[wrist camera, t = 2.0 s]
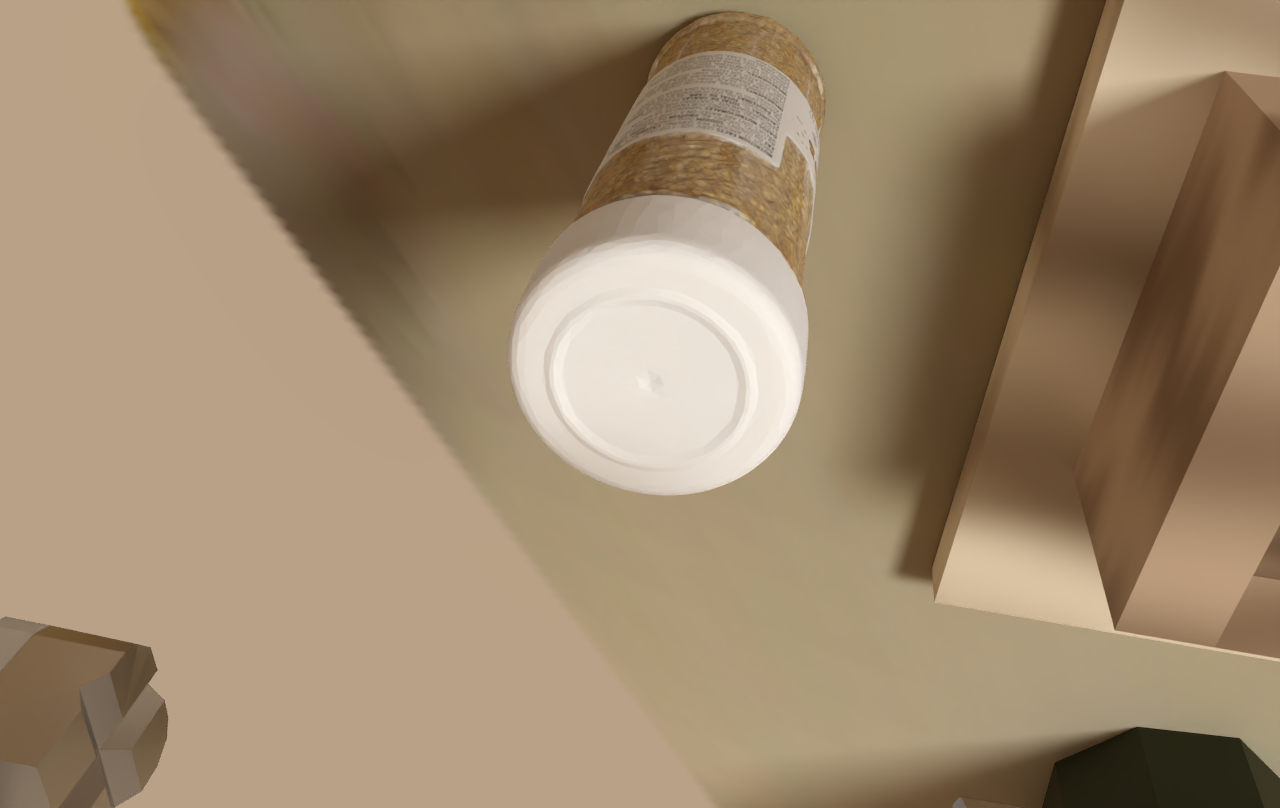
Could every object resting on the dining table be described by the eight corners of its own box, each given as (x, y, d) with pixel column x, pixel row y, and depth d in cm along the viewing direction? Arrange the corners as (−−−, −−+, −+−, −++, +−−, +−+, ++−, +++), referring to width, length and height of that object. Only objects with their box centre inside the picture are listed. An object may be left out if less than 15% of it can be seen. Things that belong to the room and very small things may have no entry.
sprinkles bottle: (795, 205, 29) (753, 540, 18) (627, 158, 29) (479, 461, 18) (853, 32, 26) (846, 298, 15) (667, -20, 26) (524, 207, 15)
